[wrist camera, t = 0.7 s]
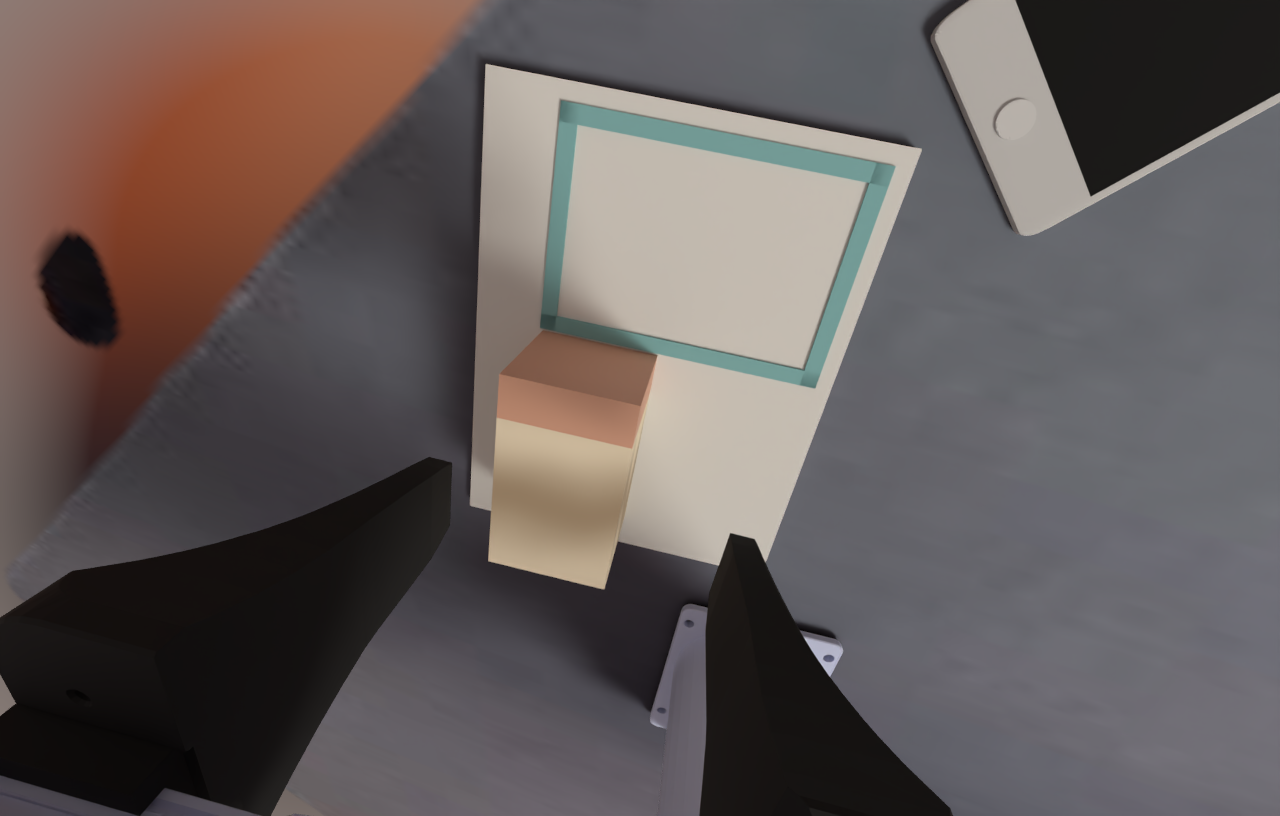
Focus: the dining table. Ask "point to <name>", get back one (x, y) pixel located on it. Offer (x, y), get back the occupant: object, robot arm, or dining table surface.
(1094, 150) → the smartphone
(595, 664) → the dining table surface
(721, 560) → the robot arm
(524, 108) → the mat
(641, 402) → the block
